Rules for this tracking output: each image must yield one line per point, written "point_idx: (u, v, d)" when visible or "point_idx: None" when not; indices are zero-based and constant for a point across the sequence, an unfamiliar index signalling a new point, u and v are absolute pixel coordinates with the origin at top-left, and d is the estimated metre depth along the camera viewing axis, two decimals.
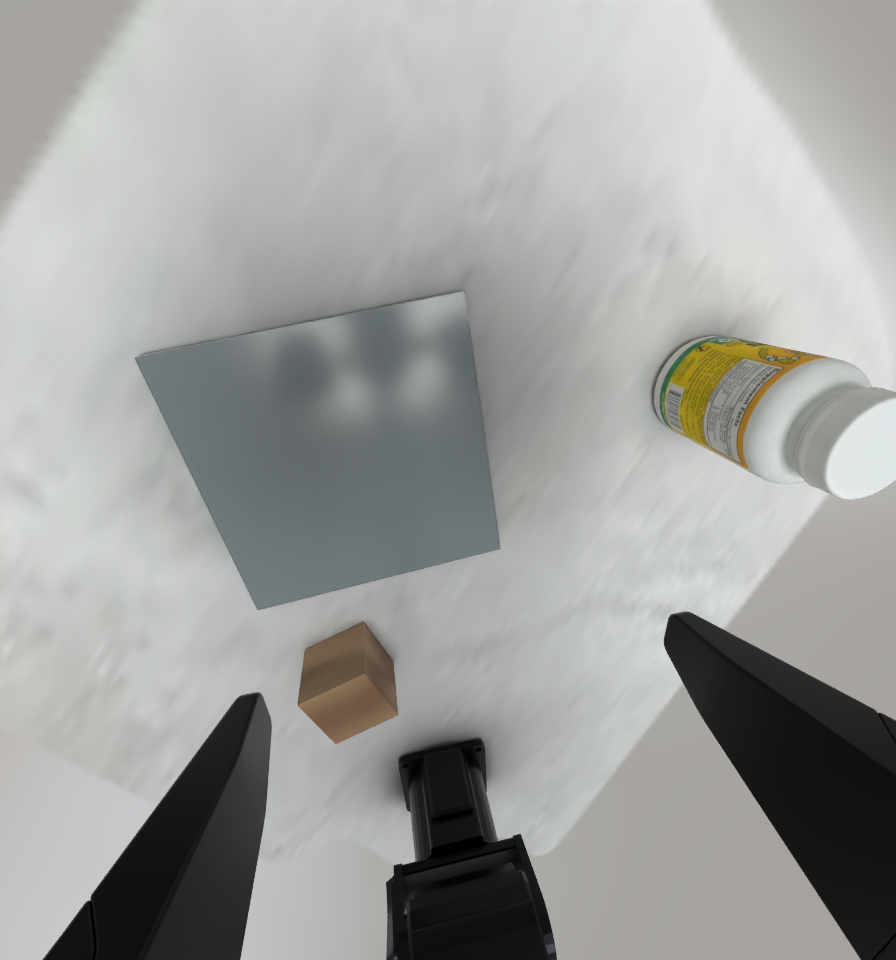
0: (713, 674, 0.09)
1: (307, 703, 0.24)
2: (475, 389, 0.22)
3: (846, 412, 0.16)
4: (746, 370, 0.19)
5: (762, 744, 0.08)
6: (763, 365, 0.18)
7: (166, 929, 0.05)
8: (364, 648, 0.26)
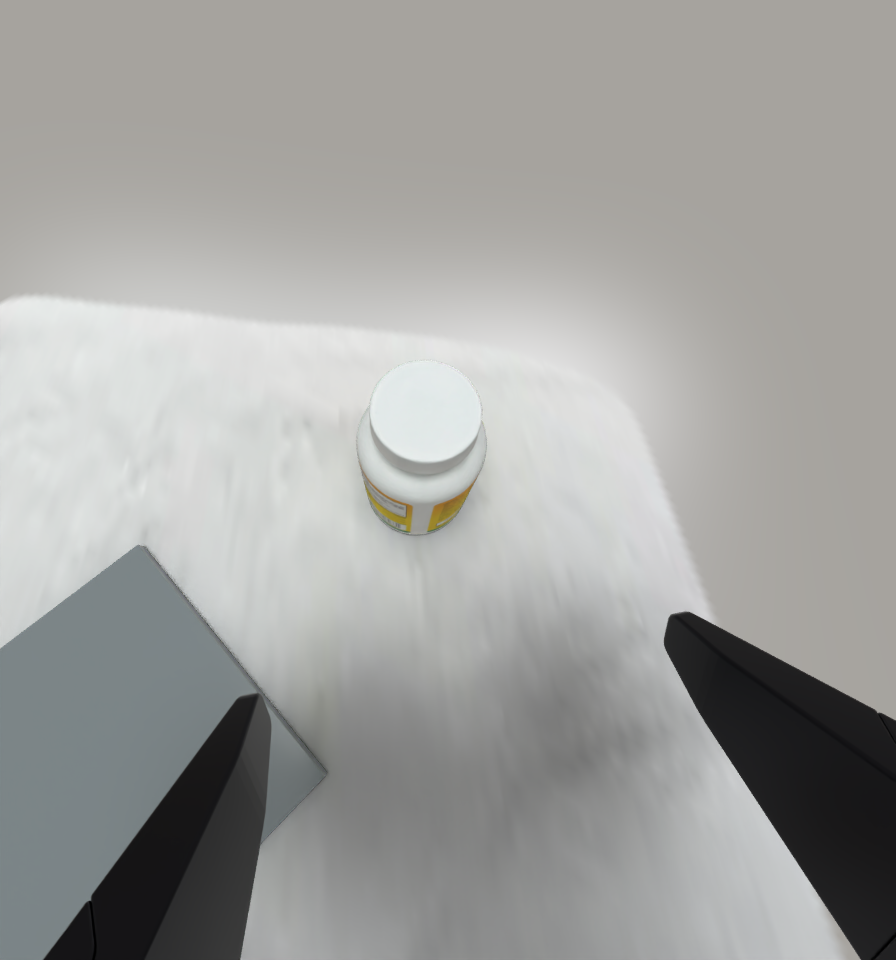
0: (713, 674, 0.09)
1: None
2: (189, 614, 0.21)
3: None
4: None
5: (762, 744, 0.08)
6: None
7: (166, 929, 0.05)
8: None
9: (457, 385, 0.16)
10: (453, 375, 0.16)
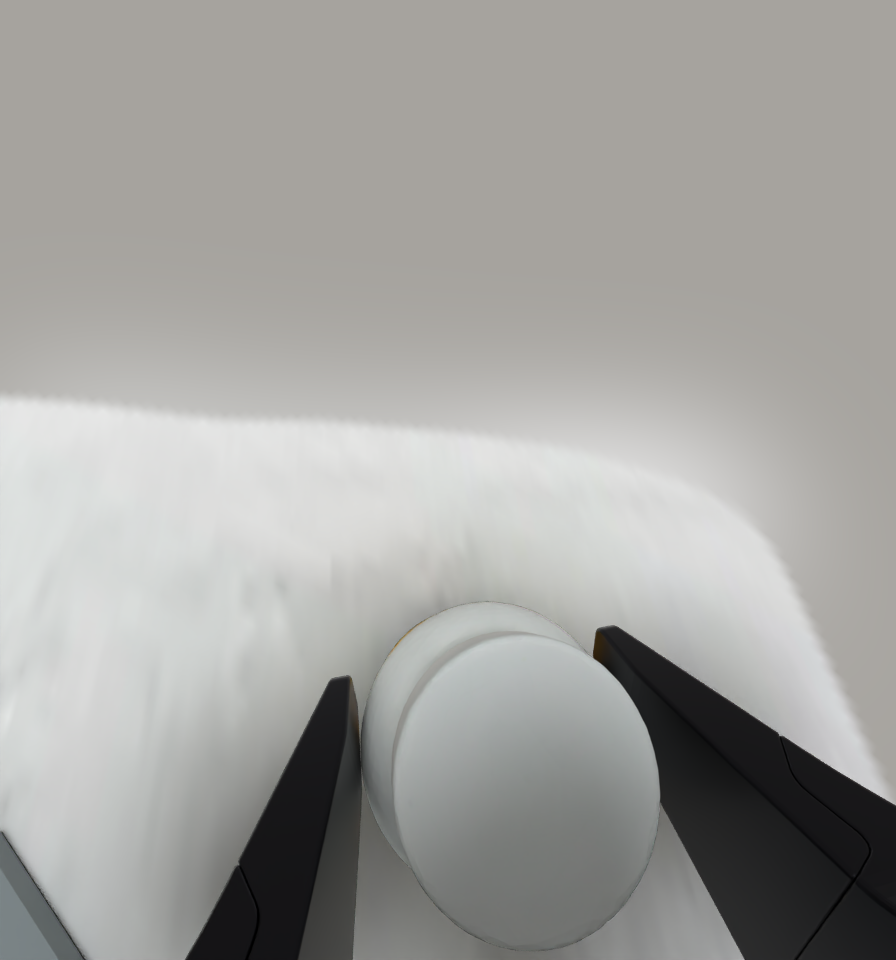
0: (631, 691, 0.09)
1: None
2: None
3: (394, 751, 0.07)
4: None
5: (675, 765, 0.08)
6: None
7: (316, 891, 0.06)
8: None
9: (595, 703, 0.07)
10: (584, 676, 0.07)
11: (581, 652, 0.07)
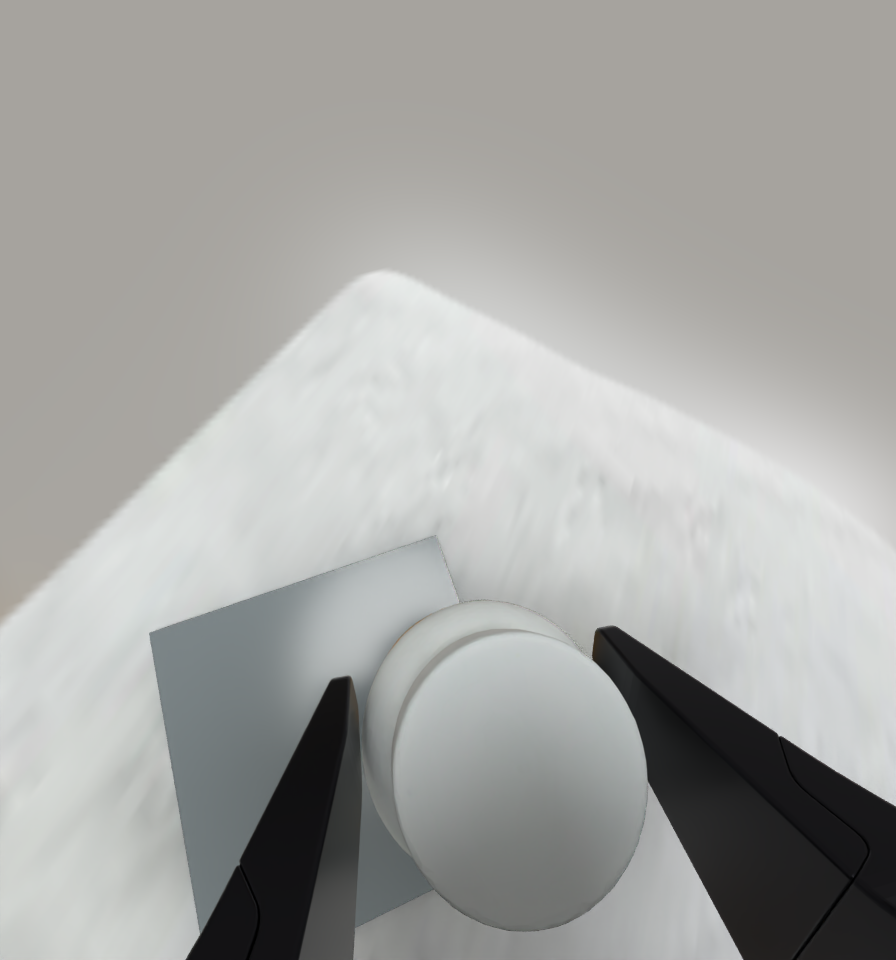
0: (630, 692, 0.09)
1: None
2: None
3: (394, 743, 0.07)
4: None
5: (674, 765, 0.08)
6: None
7: (316, 891, 0.06)
8: None
9: (587, 698, 0.07)
10: (576, 671, 0.07)
11: (573, 648, 0.07)
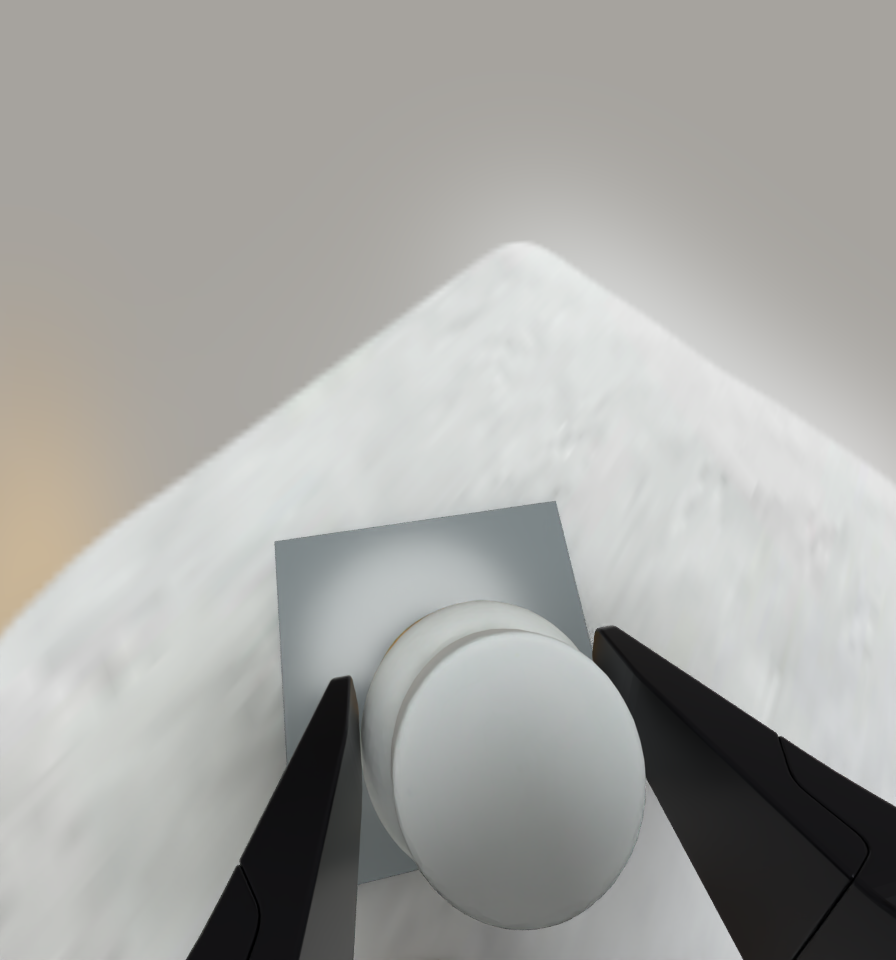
0: (630, 691, 0.09)
1: None
2: (574, 587, 0.22)
3: (394, 743, 0.07)
4: None
5: (673, 765, 0.08)
6: None
7: (317, 891, 0.06)
8: None
9: (585, 697, 0.07)
10: (575, 671, 0.07)
11: (571, 648, 0.07)
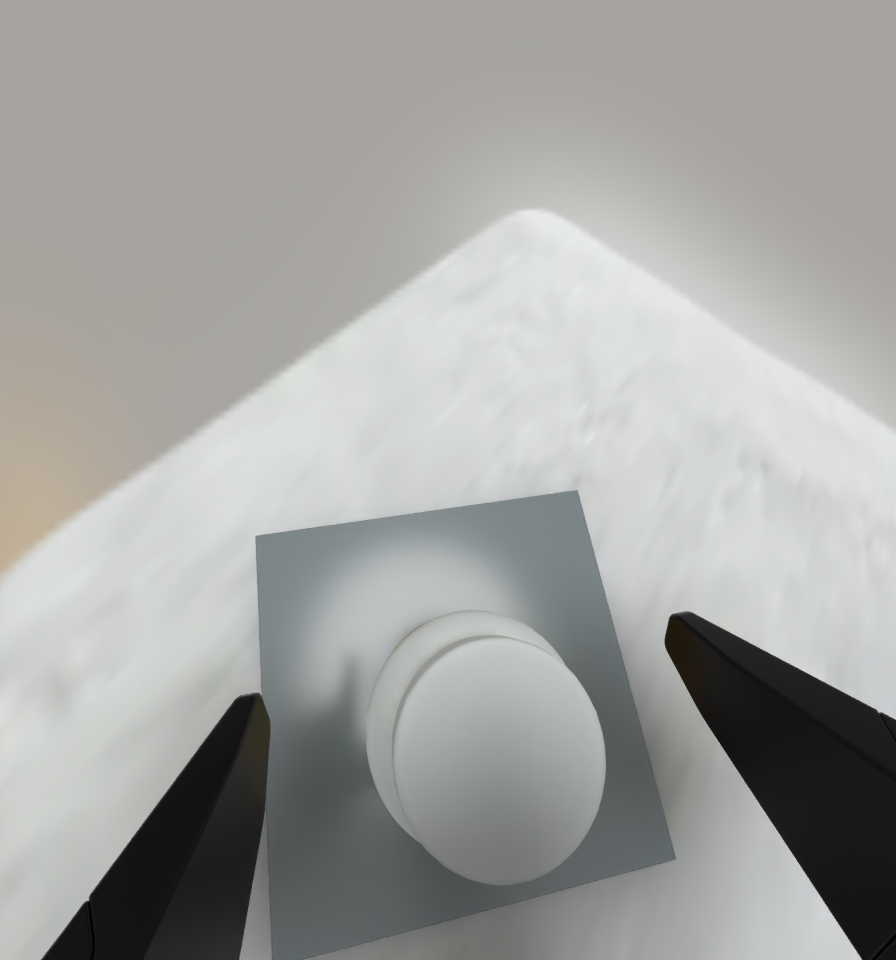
0: (714, 674, 0.09)
1: None
2: (600, 589, 0.19)
3: (394, 732, 0.09)
4: None
5: (763, 744, 0.08)
6: None
7: (164, 929, 0.05)
8: None
9: (555, 692, 0.09)
10: (546, 671, 0.09)
11: (544, 651, 0.09)
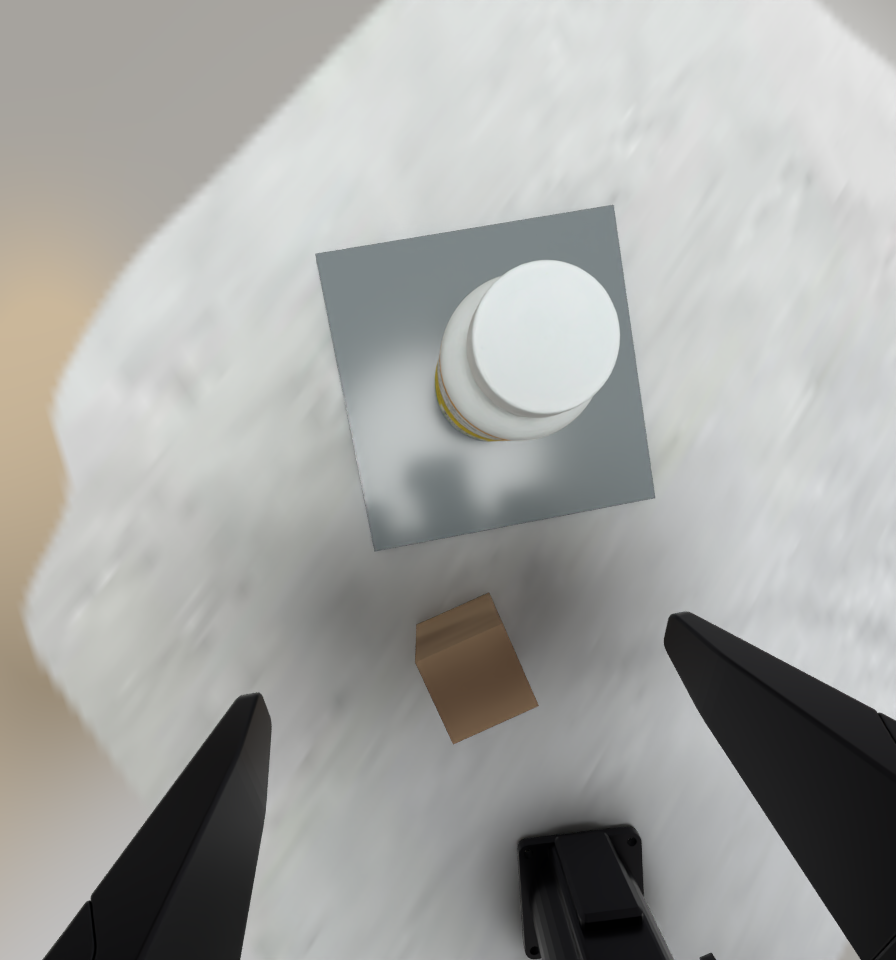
0: (713, 674, 0.09)
1: (427, 661, 0.19)
2: (624, 300, 0.21)
3: (470, 331, 0.12)
4: None
5: (762, 744, 0.08)
6: None
7: (166, 929, 0.05)
8: None
9: (588, 299, 0.12)
10: (583, 283, 0.12)
11: None
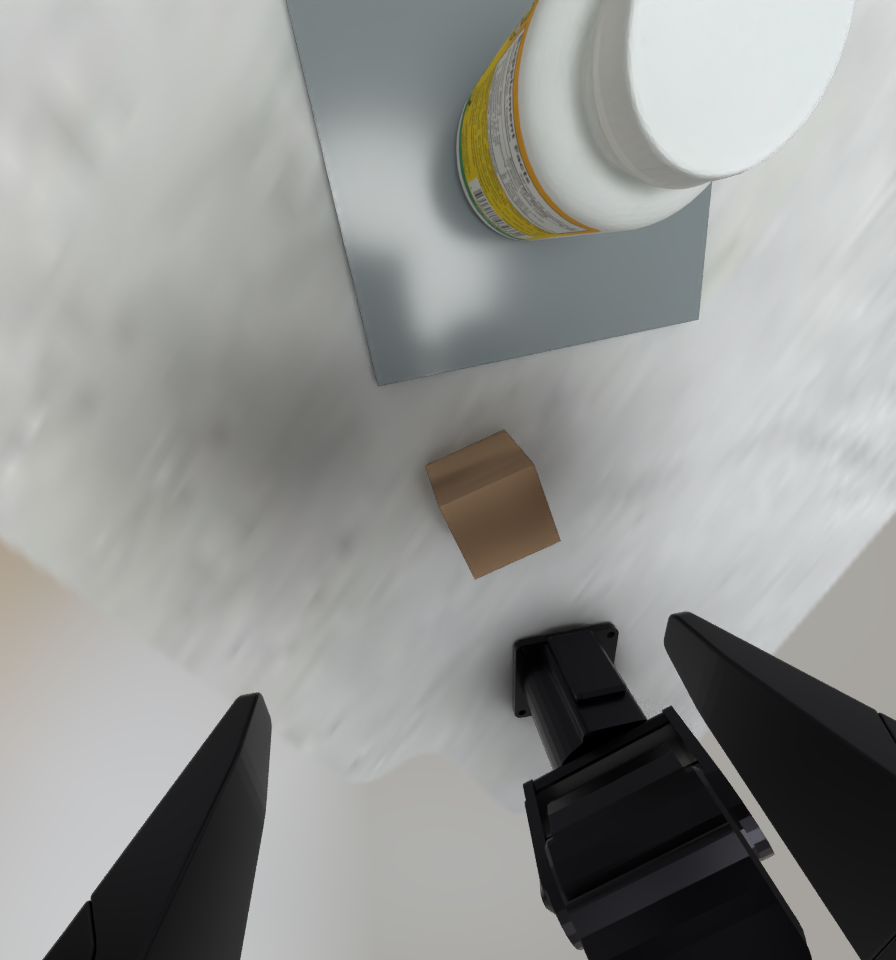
0: (713, 674, 0.09)
1: (452, 506, 0.17)
2: None
3: (618, 6, 0.07)
4: (498, 81, 0.11)
5: (762, 744, 0.08)
6: (510, 50, 0.10)
7: (166, 929, 0.05)
8: (519, 448, 0.19)
9: None
10: None
11: None
